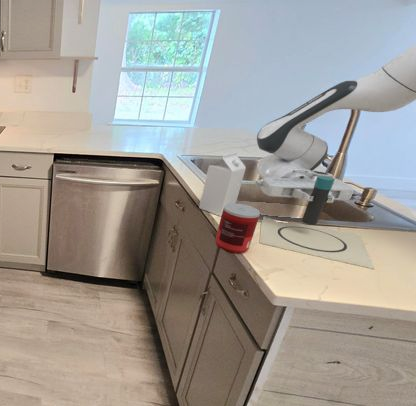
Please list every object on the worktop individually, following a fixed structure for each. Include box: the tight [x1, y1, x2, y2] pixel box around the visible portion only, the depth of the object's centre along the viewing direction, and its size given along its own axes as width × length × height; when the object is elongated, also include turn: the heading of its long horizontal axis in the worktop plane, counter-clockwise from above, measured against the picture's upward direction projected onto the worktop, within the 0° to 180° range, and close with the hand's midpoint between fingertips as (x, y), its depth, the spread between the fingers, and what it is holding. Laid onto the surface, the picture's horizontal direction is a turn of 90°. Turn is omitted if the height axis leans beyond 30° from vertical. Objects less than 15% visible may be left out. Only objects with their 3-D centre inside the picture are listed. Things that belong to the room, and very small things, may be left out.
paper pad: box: [259, 217, 376, 270], centre depth 99 cm, size 22×20×1 cm
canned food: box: [214, 202, 261, 254], centre depth 95 cm, size 8×8×11 cm
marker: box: [301, 176, 335, 226], centre depth 98 cm, size 3×3×13 cm
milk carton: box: [198, 151, 247, 217], centre depth 114 cm, size 7×7×19 cm
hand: (320, 199), depth 97 cm, fingers closed on marker, 3 cm apart
